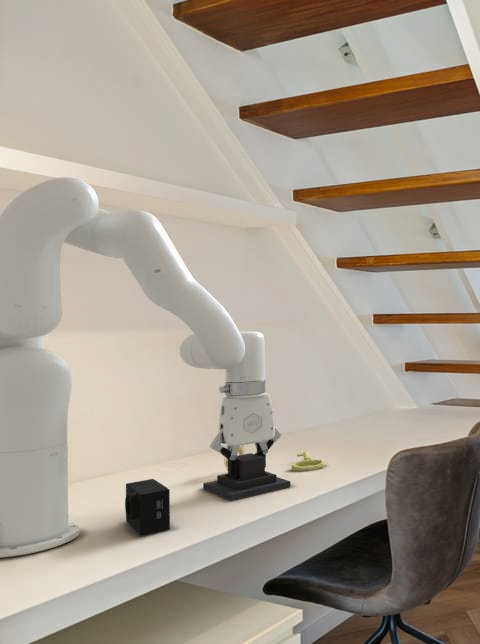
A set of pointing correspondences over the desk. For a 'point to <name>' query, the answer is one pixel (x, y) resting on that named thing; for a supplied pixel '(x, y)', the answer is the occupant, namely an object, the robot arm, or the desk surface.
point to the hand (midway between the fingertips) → (247, 474)
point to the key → (307, 463)
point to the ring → (241, 452)
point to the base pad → (245, 486)
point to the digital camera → (147, 506)
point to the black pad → (251, 466)
